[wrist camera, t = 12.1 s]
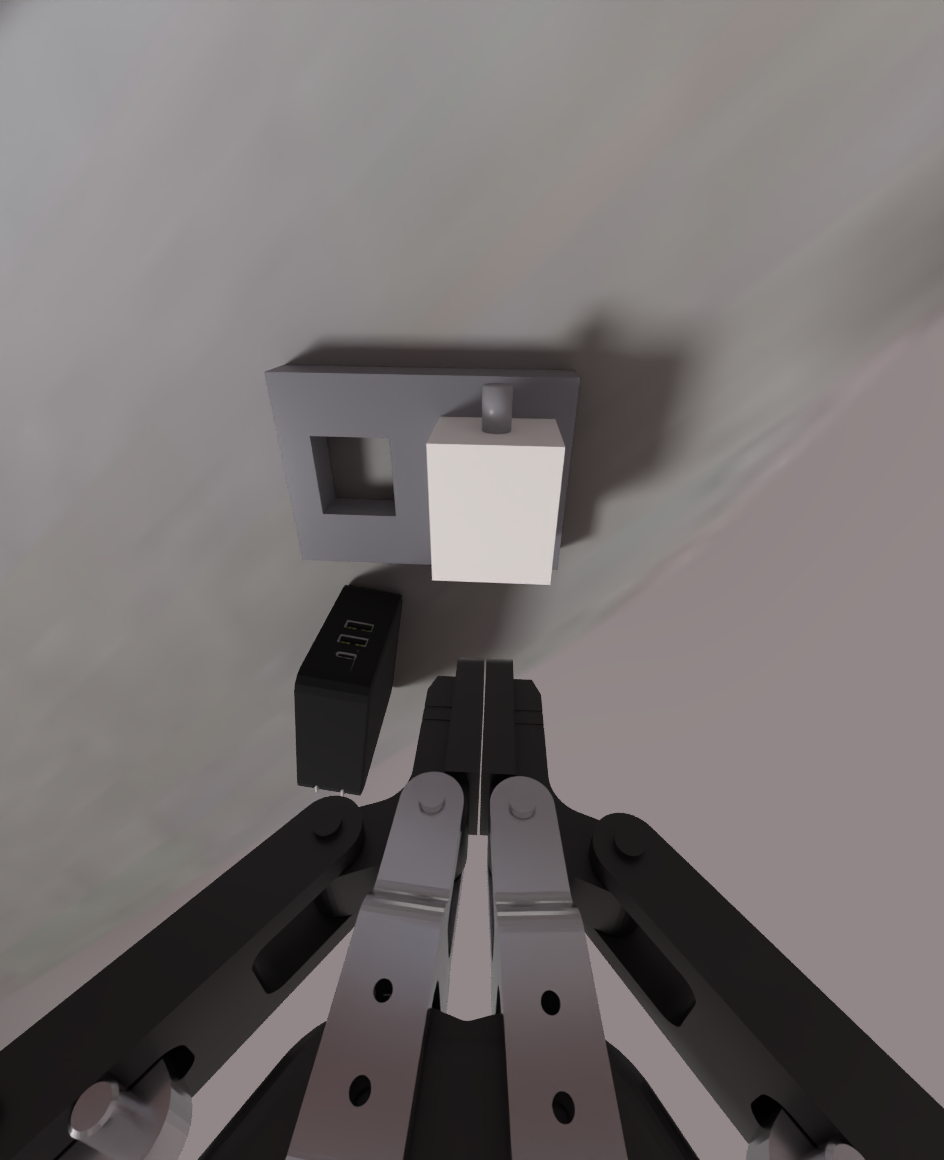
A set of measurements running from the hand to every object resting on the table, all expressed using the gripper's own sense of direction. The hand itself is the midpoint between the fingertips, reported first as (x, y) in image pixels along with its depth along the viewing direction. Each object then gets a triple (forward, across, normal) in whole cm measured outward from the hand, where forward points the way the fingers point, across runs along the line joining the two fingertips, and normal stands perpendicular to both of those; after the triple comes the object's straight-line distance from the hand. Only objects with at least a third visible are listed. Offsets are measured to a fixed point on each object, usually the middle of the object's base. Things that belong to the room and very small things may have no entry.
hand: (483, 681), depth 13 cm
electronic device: (+19, +9, +14) cm, 25 cm away
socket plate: (+18, +4, 0) cm, 19 cm away
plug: (+18, 0, 0) cm, 18 cm away
